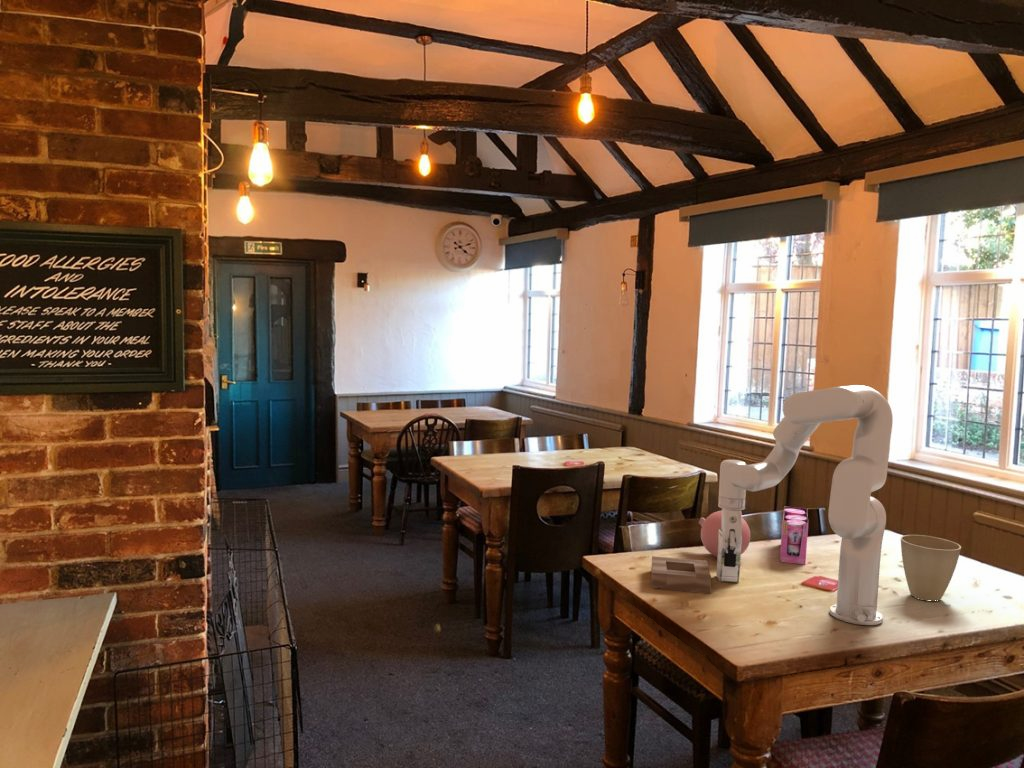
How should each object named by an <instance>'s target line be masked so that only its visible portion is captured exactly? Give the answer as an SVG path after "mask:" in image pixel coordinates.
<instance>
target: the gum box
mask: <svg viewBox="0 0 1024 768" xmlns="http://www.w3.org/2000/svg"><path fill="white" fill-rule="evenodd" d="M782 511H783V512H782V522H781V523H782V524H781V538H780V554H779V555H780V556H779V557H780V559H779V562H783V563H789V564H794V565H796V564H798V565H802V566H806V562H807V551H808V550H807V548H808V534H809V533H808V532H809V518H808V508H805V507H798V506H797V507H796V506H786V505H785V506H784V507H783V510H782Z"/></svg>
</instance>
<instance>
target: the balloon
mask: <svg viewBox="0 0 1024 768" xmlns="http://www.w3.org/2000/svg"><path fill="white" fill-rule="evenodd" d="M721 520H722V510H718V511H715V512H712V513H710V514H709V515H708V516H707V517H706V518H704V517H700V520H698V525H700V526H701V529H700V539H701V543H702V544H703V546H704V548H705V550H706V551H707V552H708V553H710V554H711V555H712V556H714V557H715V558H717V554H718V536H719V529H721ZM741 535H742V544H741V555H742V554H744V553H745V551H747V549H748V548H749V545H750V542H751V530H750V527H749V525H748V522H747V521H746V520H745V519H744V518H743V517H742V530H741Z"/></svg>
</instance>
